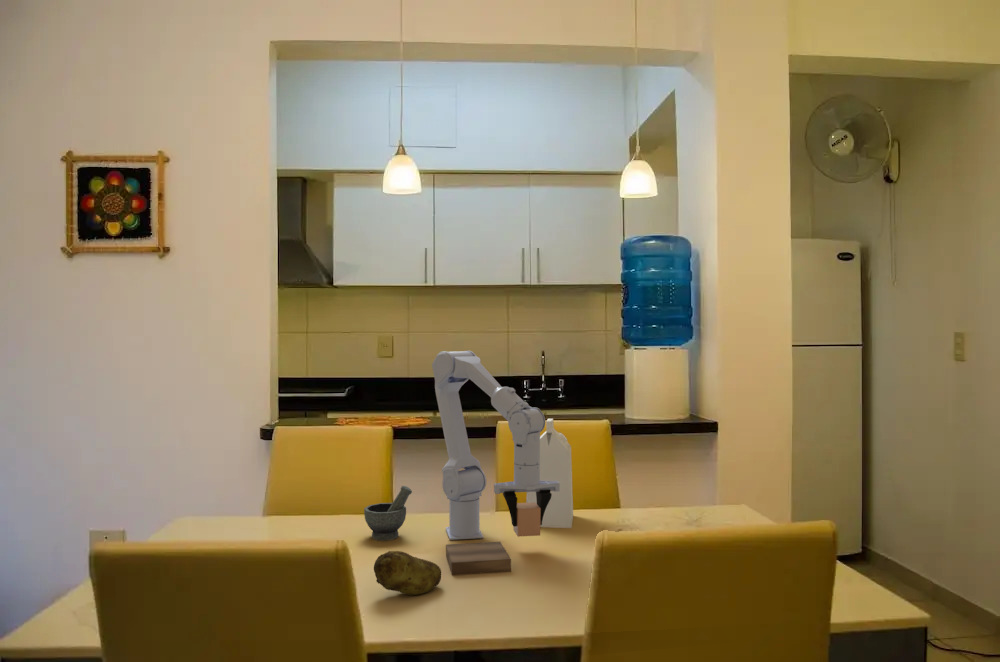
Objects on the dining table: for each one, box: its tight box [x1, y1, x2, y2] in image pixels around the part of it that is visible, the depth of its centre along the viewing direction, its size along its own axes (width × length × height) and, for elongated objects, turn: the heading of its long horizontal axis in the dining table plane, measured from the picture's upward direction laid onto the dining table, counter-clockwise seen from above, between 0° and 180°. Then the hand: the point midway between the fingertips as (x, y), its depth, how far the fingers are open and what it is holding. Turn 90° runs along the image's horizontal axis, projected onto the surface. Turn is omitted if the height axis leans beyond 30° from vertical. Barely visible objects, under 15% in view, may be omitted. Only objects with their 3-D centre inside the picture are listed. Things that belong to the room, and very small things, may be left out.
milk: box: [525, 418, 574, 529], centre depth 180 cm, size 12×12×26 cm
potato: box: [373, 550, 442, 596], centre depth 130 cm, size 8×13×8 cm, turn 103°
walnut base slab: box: [445, 541, 512, 576], centre depth 146 cm, size 12×12×2 cm
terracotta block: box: [512, 502, 541, 538], centre depth 154 cm, size 5×5×6 cm
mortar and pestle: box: [363, 485, 413, 542], centre depth 166 cm, size 11×9×12 cm
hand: (526, 524), depth 154 cm, fingers closed on terracotta block, 5 cm apart
